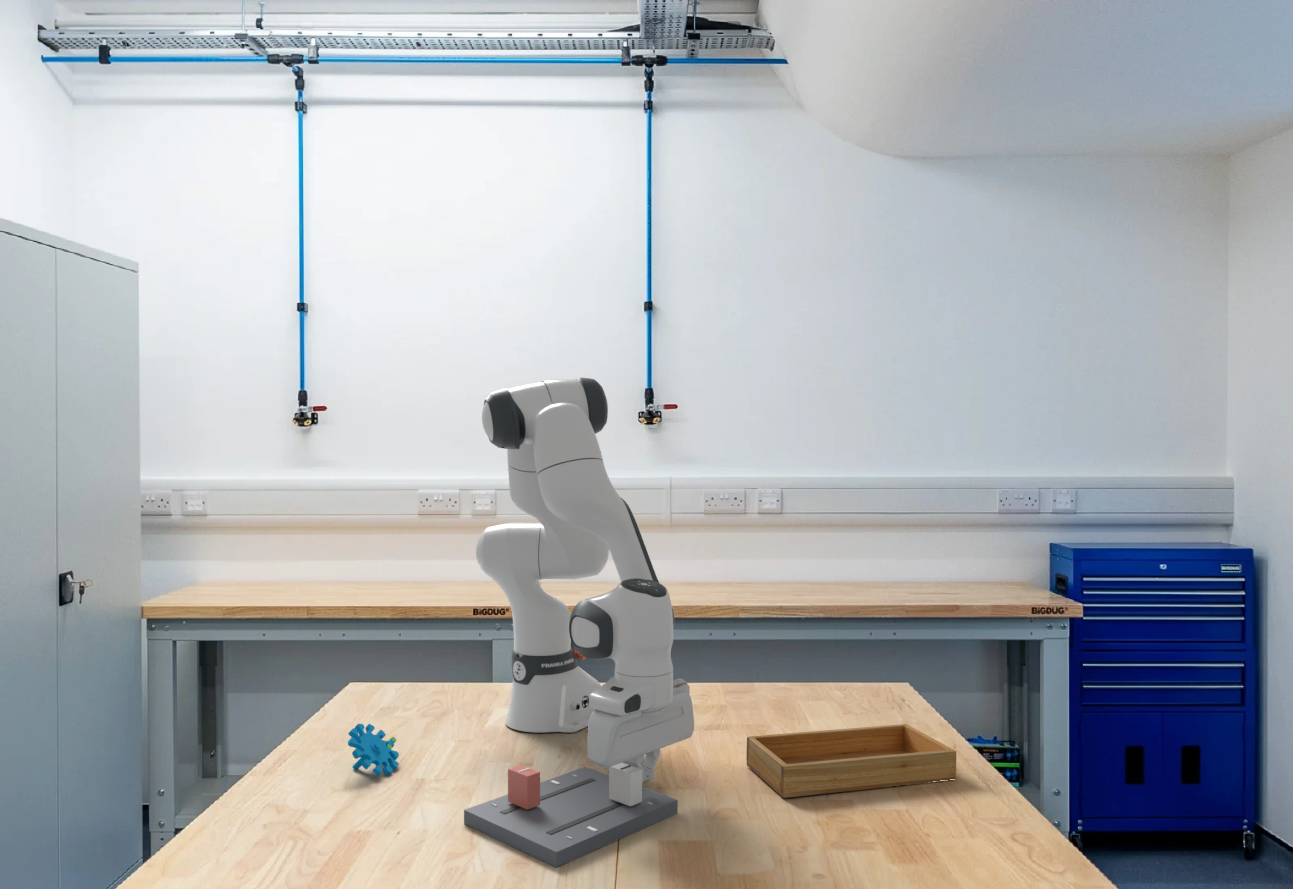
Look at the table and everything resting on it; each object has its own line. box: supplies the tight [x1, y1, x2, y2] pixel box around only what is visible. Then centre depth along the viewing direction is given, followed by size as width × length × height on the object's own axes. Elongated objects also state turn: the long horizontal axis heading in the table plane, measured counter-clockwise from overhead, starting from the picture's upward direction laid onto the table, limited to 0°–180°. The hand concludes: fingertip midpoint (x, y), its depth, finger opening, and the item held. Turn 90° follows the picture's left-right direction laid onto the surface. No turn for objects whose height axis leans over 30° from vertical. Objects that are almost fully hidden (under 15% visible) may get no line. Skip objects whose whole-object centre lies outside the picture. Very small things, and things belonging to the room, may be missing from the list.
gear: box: [347, 723, 400, 776], centre depth 157 cm, size 11×6×10 cm
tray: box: [745, 723, 957, 799], centre depth 155 cm, size 31×15×6 cm, turn 106°
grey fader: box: [608, 763, 643, 806], centre depth 138 cm, size 2×4×5 cm, turn 47°
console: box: [463, 766, 679, 868], centre depth 137 cm, size 24×20×2 cm
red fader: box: [507, 764, 541, 810], centre depth 137 cm, size 2×4×5 cm, turn 47°
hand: (643, 780), depth 141 cm, fingers closed
